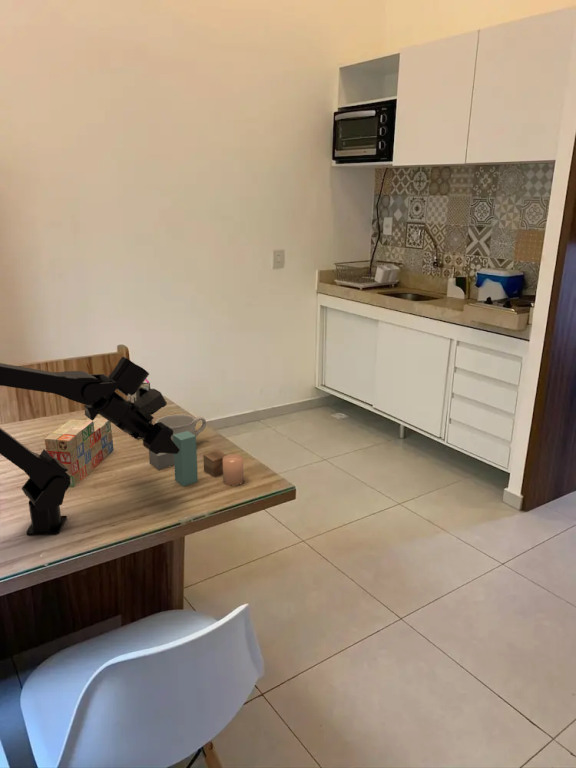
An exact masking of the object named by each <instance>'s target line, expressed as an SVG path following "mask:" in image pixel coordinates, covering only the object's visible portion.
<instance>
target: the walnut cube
mask: <svg viewBox="0 0 576 768" xmlns="http://www.w3.org/2000/svg"><path fill="white" fill-rule="evenodd" d="M226 455H227V454H226V453H224V452H223V451H221V450H219V449H218V450H215V451H211V452H207V453H205V454H203V455H202V456H203V457H202V459H203V471H204V472H205V473H207V474H208V475H210V476H211V477H213V478H215V477H218V476H221V475H223V457H224V456H226Z"/></svg>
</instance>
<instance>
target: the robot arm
mask: <svg viewBox="0 0 576 768" xmlns="http://www.w3.org/2000/svg"><path fill="white" fill-rule="evenodd" d="M149 375H150V373H149V372H148V371H147V370H146V369H145V368H144V367H142V366H140V365H138V364H136V363H134V362H133V361H131V360H130V359H129V358H127V357H126V356H121V358H120V359H119V360H118V363H117V365H115V367H114V369H113V370H112V371H111V372H110V374H109V375H106V374H104V373H102V374H101V373H97V374H96V373H94V374H90V373H88V372H86V371H83V370H66V371H58V372H57V371H55V372H54V371H48V370H42V369H37V368H30V367H24V366H20V365H19V366H18V365H13V364H6V363H1V362H0V387H8V388H15V389H21V390H22V389H23V390H28V391H36V392H42V393H47V394H55V395H57V396H60V397H63V398H65V399H68V400H71V401H74V402H76V403H80V404H83V409H84V416H85V417H86V418H87V419H88V418H89V419H90V420H94V419H95V418H97V417H98V415H100V416H101V418H104V419H107V420H108V421H110V422H111V424H113V425H115V427H117V428H118V429H120V430H121V431H123V432H124V433H126V434H128V435H130V436H131V437H132V438H134V439H135V440H138V439H137V438H138V437H141V438H140V439H142V446H143V447H145V448H146V449H147V450H148V451H149V450H150V451H152V452H153V453H155V454H156V455H157V454H159V453H171V454H178V452H179V451H180V450H179V448H178V447H177V446H176V445H175V443H174V442H173V441H172V439H171V436H172V435H173V430H172V429H170V428H169V427H168V426H166V425H164V424H163V423H161V422H158V423H155V422H154V424H153V423H152V424H151V423H150V422H151V421H152V422H153V420H154V418H155V417H154V416H151V415H155V413H157V412H158V411H159V410H161V409H162V408H165V407H166V406H167V404H168V403H167V401H166V399H165V397H164V395H163V394H162V392H161V391H160V390H157V389H156V388H151V387H150V388H149V391H148V390H146V389H144V388H142V387H140V386H141V385H142V383H143V382H144V381H145V379H148V377H149ZM139 387H140V388H139ZM116 391H118V392H120V393H121V394H123V395H124V396H125V397H128V394H130V395H131V396H132V395H134V394H135V393H136V401H135V402H134V403H132V402H131V401H129V400H128V399H126V398H124V397H123V396H122V395H120V394H119V393H118V392H116ZM0 455H1V456H3V457H4V458H5V459H6V460H8V461H10V463H12V464H14V465H15V466H16V467H18V468H19V469H20V470H22V471H23V472H24V473H25V474H26V475H27V476H28V477H29V478H28V480H26V482H25V483H24V484H23V486H22V487H21V490H22V492H23V494H24V495H25V496H26V497H27V498H28V499H29V500H28V507H29V517H30V525H29V527H28V528H27V530H26V532H25V534H26V535H27V536H35V535H36V536H41V535H42V536H43V535H58V534H60V532H61V530H62V528H63V526H64V525H65V523H66V521H67V520H68V517H67V515H62V514H61V513H62V512H61V507H60V506H61V505H63V502H64V499H65V495H66V492H67V490H68V489H69V488H70V486H69V485H70V479H71V478H70V476H69V475H68V474H67V473H66V471H68V469H67V468H66V467H65V466H64V465H63V464H62V463H61V462H60V461H59V460H58V459H57V458H53V457H52V456H51V455H50V454H49V453H48V452H47V451H46V448H45V449H43V450H42V451H41V453H36V452H34V451H32V450H30V449H29V448H28V447H27V446H25V445H24V444H23V443H21V442H20V441H18V440H17V439H16V438H15V437H13V436H12V435H11V434H9V433H8V432H7V431H5V430H4V429H3V428H1V427H0Z"/></svg>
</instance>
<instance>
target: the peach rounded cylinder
mask: <svg viewBox="0 0 576 768" xmlns="http://www.w3.org/2000/svg"><path fill="white" fill-rule="evenodd" d="M244 459H245V458H244V457H243V456H242V455H241V454H236V453H235V454H234V453H232V454H231V453H230V454H226V456H224V457H223V474H222V480H223V481H222V483H223V482H224V483H225V484H224V483H223V484H224V485H226V484H228V485H237V484H240V483H242V482H243V481H245V478H244V477H245V473H244V472H245V469H244V468H245V467H244V465H245V464H244V462H245V460H244ZM243 483H244V482H243ZM243 483H242V484H243ZM228 485H227V486H228ZM240 485H241V484H240ZM237 486H238V485H237Z"/></svg>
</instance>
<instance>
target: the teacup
mask: <svg viewBox="0 0 576 768" xmlns="http://www.w3.org/2000/svg"><path fill="white" fill-rule="evenodd" d="M199 421H201V422H202V425H200V427H199V428H198V429H196V426H197V423H198V422H199ZM158 422H161V423H163V424H164V425H166V426H168V427H169V428H170V429H172V430H173V435H174V434H178V433H181V432H185V431H189V432H190V433H192V434H193V435H195V436H196V438H197V436H198V435H199V434H201V433H202V432H203V431H204V430H205V429H206V426H207V419H205V418H204V417H203V416H197V417H194V416H193V415H189V414H184V413H183V414H181V413H179V414H178V413H177V414H169V415H164V416H161V417H159V418H157V420H155V421H154V424H155V423H158ZM173 435H172V436H171V439H172V441H173Z"/></svg>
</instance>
